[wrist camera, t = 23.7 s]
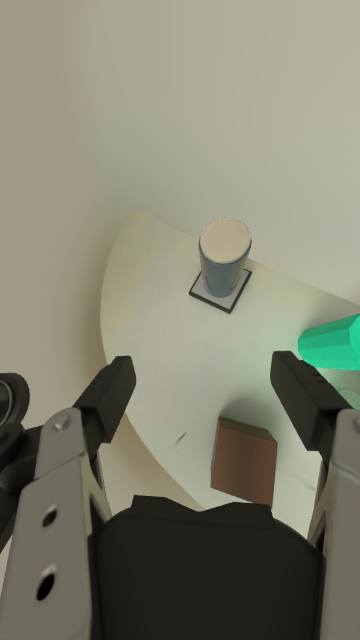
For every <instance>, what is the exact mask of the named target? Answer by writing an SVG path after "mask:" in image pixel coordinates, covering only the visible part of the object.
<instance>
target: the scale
mask: <svg viewBox="0 0 360 640" xmlns="http://www.w3.org/2000/svg"><path fill="white" fill-rule="evenodd" d="M251 274H252V272H251V271H248V270H246V269H243V271H242V274H241V277H240V280H239V283H238V286H237V288H236V290H235V291H234V292H233V293H232V294H231V295H229V296H227V297H224V298H216V297H213V296H211V295H209V294H208V293H207V292H206V290H205V289H204V286H203V278H202V270H201V272H200V274H199V275H198V277H197V279H196V281H195V282H194V284H193V286H192V288H191V289H190V291H189V295H191V296H193V297H195V298H197V299H199V300H201V301H203V302H206V303H208V304H210V305H212V306H214V307H216V308H218V309H220V310H222V311H225V312H227V313H229V314H230V313H231V312H232V310H233V308H234V306H235V304H236V302H237V300H238V298H239V296H240V295H241V293H242V291H243V289H244V287H245V285H246V283H247V281H248V280H249V278H250V276H251Z"/></svg>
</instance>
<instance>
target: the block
mask: <svg viewBox="0 0 360 640" xmlns="http://www.w3.org/2000/svg"><path fill="white" fill-rule="evenodd" d="M276 456H277V441H276V440H275V439H274V438H273V436H272V435H271V434H270V433H269V431H268V430H266V429H262V428H258V427H255V426H251V425H247V424H244V423H240V422H236V421H232V420H229V419H225V418H221V417H218V422H217V429H216V436H215V443H214V450H213V457H212V464H211V488H213V489H216V490H219V491H222V492H225V493H227V494H230V495H233V496H236V497H238V498H241V499H244V500H247V501H250V502H252V503H256V504H269V505H270V509H272V504H273V492H274V480H275V468H276Z"/></svg>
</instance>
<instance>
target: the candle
mask: <svg viewBox="0 0 360 640" xmlns="http://www.w3.org/2000/svg"><path fill="white" fill-rule="evenodd" d="M298 351H299V353H300V354H301V356H302V358H303V360H305V361H306V362H308V363H309V364H311V365H312V366H314V367H321V368H330V369H343V370H357V371H360V313H359V314H356V315H353V316H350V317H347V318H344V319H340V320H337V321H334V322H331V323H328V324H325V325H321V326H318V327H315V328H312V329H310V330H307V331H305V332H303V334H302V335H301V337H300V338H299V339H298Z"/></svg>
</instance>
